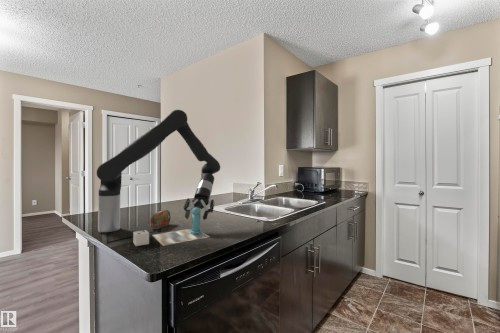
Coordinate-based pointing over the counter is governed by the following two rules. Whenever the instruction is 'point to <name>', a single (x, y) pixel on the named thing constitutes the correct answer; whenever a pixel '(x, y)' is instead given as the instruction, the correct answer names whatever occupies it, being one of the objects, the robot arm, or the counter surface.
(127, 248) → the counter surface
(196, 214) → the pawn
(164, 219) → the mottled brown slab
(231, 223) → the counter surface
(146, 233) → the die
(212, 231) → the counter surface
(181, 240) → the board
